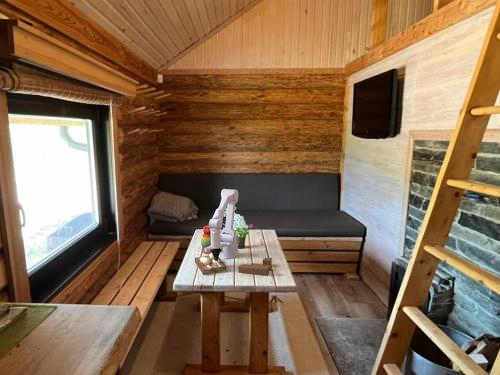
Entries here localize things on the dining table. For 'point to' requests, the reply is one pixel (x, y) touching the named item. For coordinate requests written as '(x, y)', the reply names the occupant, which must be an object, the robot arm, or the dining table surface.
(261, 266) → the wooden block set
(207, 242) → the stacking bear
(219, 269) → the button board
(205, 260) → the button
